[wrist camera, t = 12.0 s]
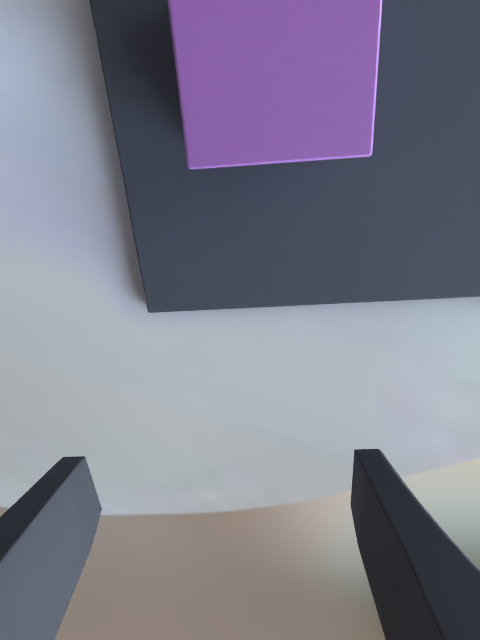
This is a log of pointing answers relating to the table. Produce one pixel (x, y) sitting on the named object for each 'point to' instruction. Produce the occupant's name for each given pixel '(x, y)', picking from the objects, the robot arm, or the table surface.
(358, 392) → the table surface
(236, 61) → the block
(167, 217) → the mat
